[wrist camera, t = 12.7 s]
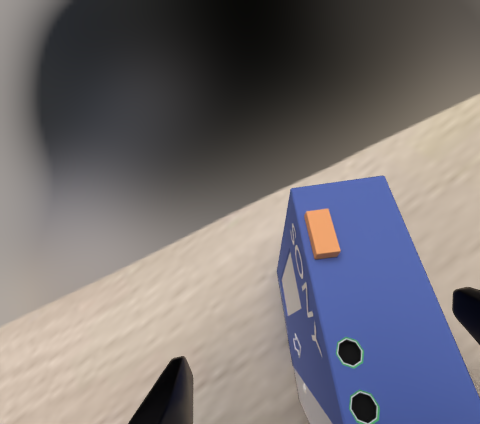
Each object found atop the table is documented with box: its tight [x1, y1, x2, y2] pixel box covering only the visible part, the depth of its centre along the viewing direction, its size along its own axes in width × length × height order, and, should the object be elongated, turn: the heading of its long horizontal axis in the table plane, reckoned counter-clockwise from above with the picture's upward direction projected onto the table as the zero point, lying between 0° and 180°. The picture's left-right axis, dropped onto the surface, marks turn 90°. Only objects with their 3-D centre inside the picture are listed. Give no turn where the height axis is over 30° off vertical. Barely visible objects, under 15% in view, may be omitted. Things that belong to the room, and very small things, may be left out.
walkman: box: [277, 176, 480, 424], centre depth 11 cm, size 8×3×12 cm, turn 6°
